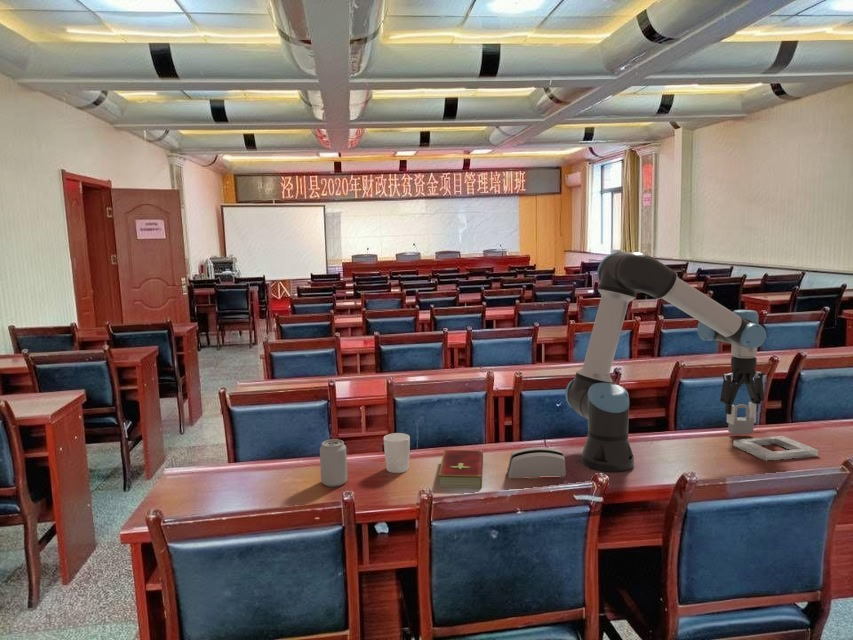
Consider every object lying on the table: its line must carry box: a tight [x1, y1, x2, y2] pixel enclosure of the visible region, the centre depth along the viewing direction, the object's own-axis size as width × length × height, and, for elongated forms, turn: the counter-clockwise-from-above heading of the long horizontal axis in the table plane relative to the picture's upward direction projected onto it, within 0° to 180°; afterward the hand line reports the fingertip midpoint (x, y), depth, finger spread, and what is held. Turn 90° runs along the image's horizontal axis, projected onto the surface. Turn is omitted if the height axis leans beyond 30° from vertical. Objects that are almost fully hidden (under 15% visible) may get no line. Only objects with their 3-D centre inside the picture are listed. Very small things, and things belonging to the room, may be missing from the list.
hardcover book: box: [437, 448, 484, 489], centre depth 169 cm, size 12×21×4 cm, turn 173°
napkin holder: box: [506, 446, 567, 479], centre depth 165 cm, size 17×5×10 cm, turn 91°
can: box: [319, 438, 348, 488], centre depth 164 cm, size 8×8×12 cm
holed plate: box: [732, 435, 819, 462], centre depth 181 cm, size 18×14×2 cm
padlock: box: [727, 403, 755, 435], centre depth 195 cm, size 7×4×10 cm, turn 89°
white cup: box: [383, 432, 411, 474], centre depth 173 cm, size 8×8×10 cm
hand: (741, 422), depth 195 cm, fingers closed on padlock, 7 cm apart
